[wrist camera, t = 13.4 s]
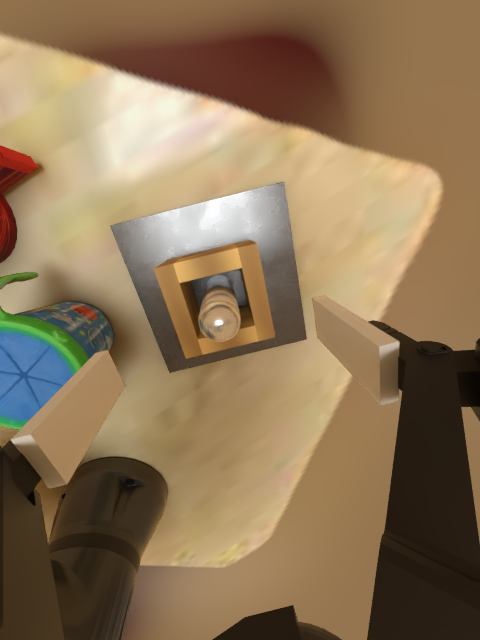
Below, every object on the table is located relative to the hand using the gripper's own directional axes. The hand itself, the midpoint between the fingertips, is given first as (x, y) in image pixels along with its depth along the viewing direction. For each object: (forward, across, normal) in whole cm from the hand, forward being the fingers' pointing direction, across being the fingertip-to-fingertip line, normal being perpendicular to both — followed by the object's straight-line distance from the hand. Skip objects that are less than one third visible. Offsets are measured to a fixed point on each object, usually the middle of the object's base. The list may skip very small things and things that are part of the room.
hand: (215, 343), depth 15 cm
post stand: (+14, 0, 0) cm, 14 cm away
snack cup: (+14, -16, -1) cm, 22 cm away
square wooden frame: (+13, 0, 0) cm, 13 cm away
